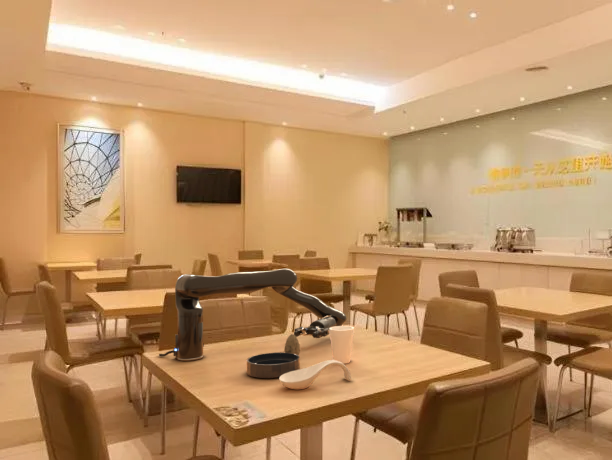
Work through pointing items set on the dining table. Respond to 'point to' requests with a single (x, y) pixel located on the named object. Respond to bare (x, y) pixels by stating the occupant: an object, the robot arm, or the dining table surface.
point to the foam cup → (341, 342)
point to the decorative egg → (292, 345)
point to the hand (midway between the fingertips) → (304, 335)
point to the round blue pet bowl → (272, 364)
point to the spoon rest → (309, 375)
